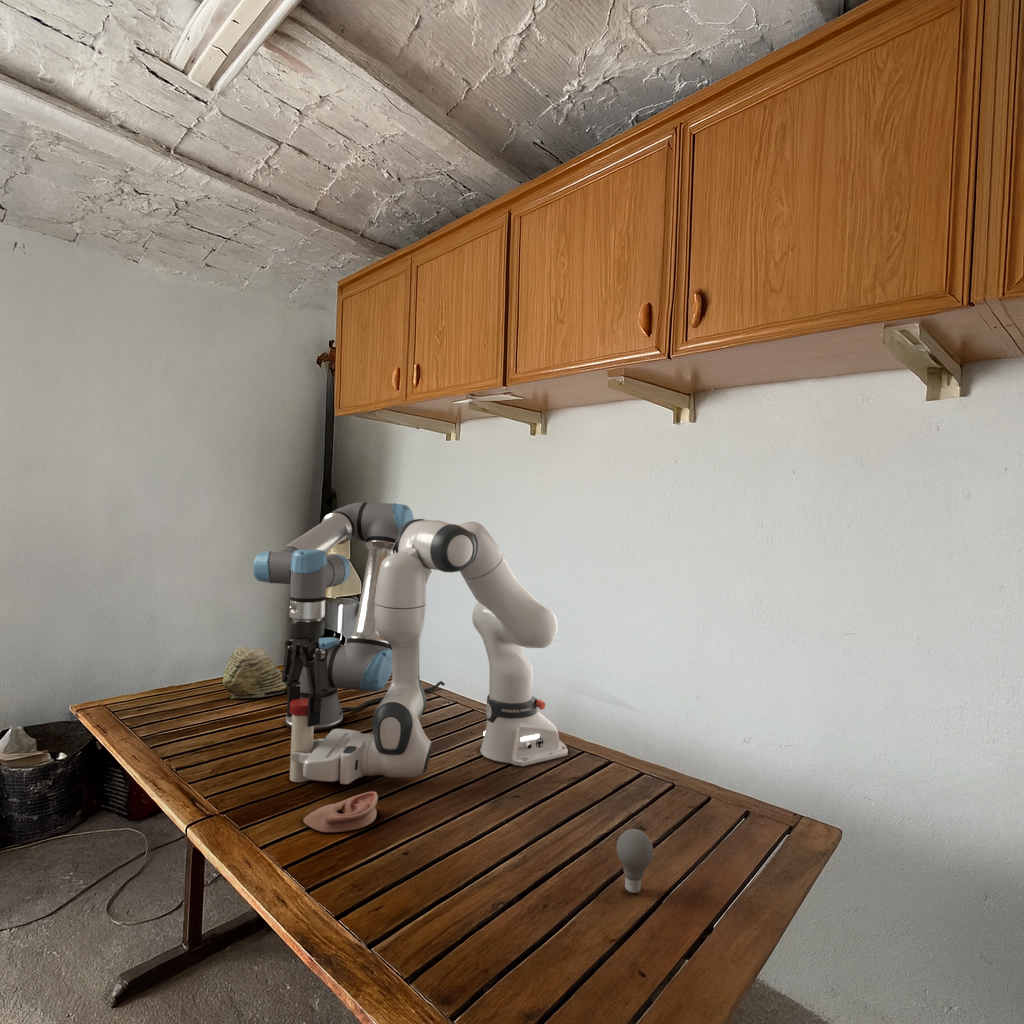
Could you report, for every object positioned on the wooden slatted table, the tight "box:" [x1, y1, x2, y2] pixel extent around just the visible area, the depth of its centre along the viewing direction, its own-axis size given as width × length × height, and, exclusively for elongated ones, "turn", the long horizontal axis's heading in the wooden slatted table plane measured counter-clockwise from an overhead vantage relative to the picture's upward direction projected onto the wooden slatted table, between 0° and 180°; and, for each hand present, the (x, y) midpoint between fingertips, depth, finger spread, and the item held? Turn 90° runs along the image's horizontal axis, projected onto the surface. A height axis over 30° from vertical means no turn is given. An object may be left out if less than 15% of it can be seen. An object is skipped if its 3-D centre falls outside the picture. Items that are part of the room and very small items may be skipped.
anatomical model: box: [302, 791, 379, 833], centre depth 125 cm, size 13×4×12 cm
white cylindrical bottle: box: [289, 714, 315, 783], centre depth 142 cm, size 5×5×17 cm
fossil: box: [222, 646, 288, 699], centre depth 198 cm, size 9×18×15 cm, turn 132°
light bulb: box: [615, 828, 654, 894], centre depth 106 cm, size 6×6×10 cm
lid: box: [289, 698, 308, 716], centre depth 142 cm, size 6×6×2 cm
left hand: (303, 720), depth 142 cm, fingers open, 8 cm apart
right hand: (297, 750), depth 142 cm, fingers closed on white cylindrical bottle, 5 cm apart
